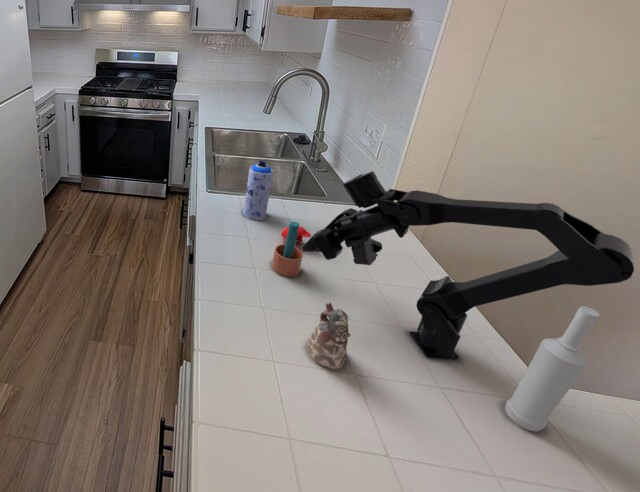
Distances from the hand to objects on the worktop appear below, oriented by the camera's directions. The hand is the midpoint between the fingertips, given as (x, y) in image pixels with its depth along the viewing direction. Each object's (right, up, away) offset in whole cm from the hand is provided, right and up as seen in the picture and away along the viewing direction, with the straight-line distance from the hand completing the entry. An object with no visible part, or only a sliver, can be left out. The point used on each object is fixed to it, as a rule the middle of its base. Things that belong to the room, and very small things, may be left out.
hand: (311, 242), depth 98 cm
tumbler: (-3, -9, +8) cm, 12 cm away
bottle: (+24, -25, -30) cm, 46 cm away
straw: (-3, -9, +8) cm, 12 cm away
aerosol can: (-3, +2, +35) cm, 35 cm away
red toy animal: (+3, -5, +19) cm, 20 cm away
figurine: (-6, -20, -18) cm, 27 cm away
